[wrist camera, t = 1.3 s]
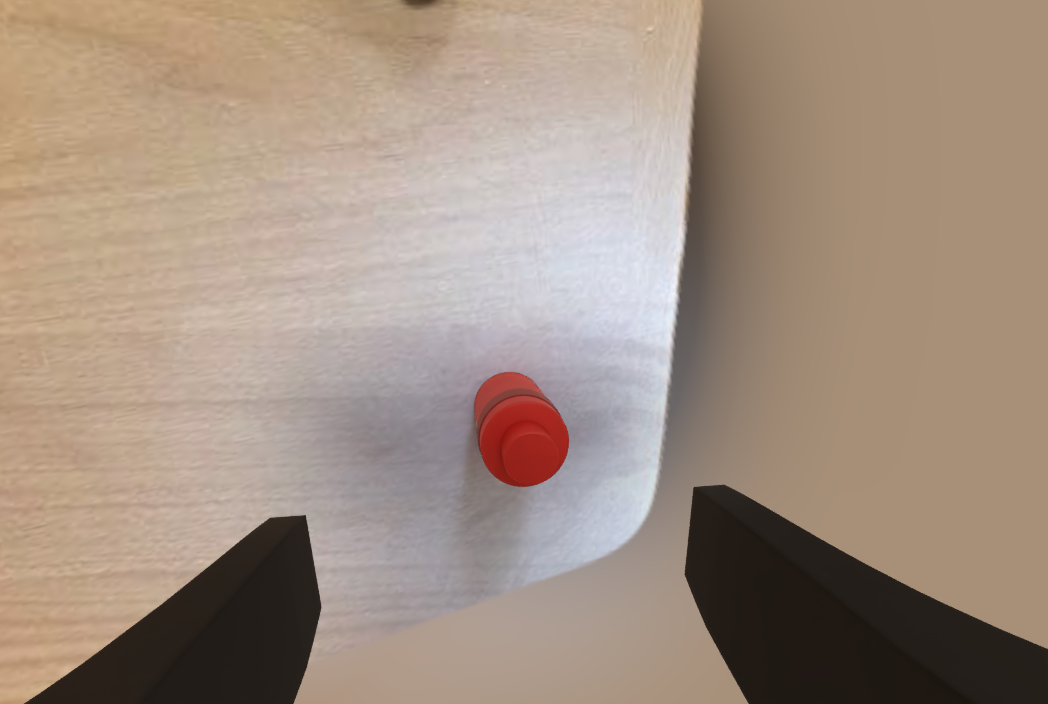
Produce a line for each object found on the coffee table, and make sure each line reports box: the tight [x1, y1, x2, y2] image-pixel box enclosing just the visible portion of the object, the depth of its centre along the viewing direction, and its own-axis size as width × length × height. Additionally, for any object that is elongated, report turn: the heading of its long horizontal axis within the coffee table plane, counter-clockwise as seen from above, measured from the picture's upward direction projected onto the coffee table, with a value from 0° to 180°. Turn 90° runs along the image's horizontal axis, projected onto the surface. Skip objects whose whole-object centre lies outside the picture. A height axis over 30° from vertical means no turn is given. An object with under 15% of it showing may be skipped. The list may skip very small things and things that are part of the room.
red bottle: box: [474, 372, 569, 487], centre depth 17 cm, size 3×3×6 cm
